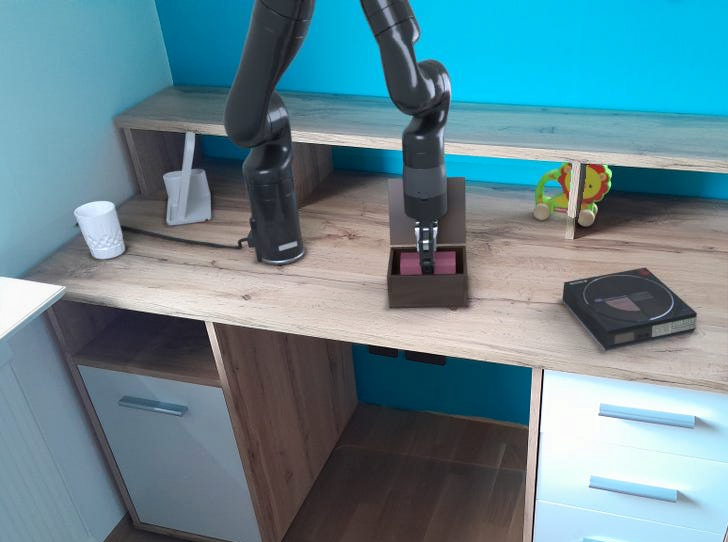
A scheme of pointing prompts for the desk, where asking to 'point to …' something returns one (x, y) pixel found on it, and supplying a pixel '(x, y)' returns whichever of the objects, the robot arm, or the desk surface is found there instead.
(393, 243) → the box lid
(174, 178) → the white dustpan scoop
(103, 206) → the white cup
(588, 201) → the toy lion
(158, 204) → the desk surface
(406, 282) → the walnut box
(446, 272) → the stepped pink block
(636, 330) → the portable cd player
